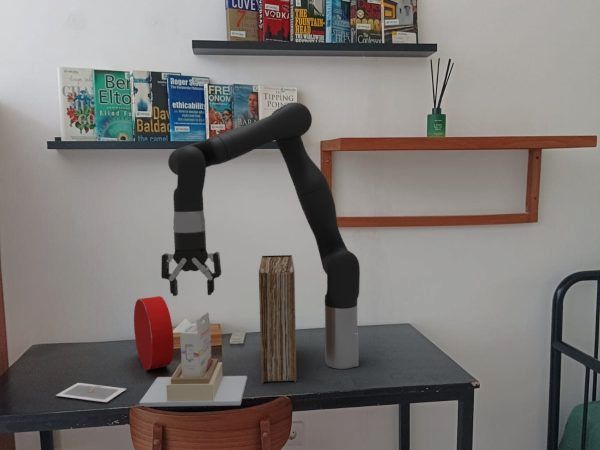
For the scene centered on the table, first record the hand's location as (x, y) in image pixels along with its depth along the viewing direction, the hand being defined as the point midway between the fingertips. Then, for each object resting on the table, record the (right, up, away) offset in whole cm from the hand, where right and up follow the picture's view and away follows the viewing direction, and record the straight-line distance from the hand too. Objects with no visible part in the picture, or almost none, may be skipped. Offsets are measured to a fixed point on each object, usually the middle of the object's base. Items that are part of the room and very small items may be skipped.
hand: (192, 294), depth 122 cm
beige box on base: (0, -25, +3) cm, 25 cm away
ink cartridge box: (+1, -20, +2) cm, 20 cm away
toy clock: (-15, -24, +21) cm, 35 cm away
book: (+21, -23, +19) cm, 37 cm away
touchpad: (-26, -26, +2) cm, 37 cm away
